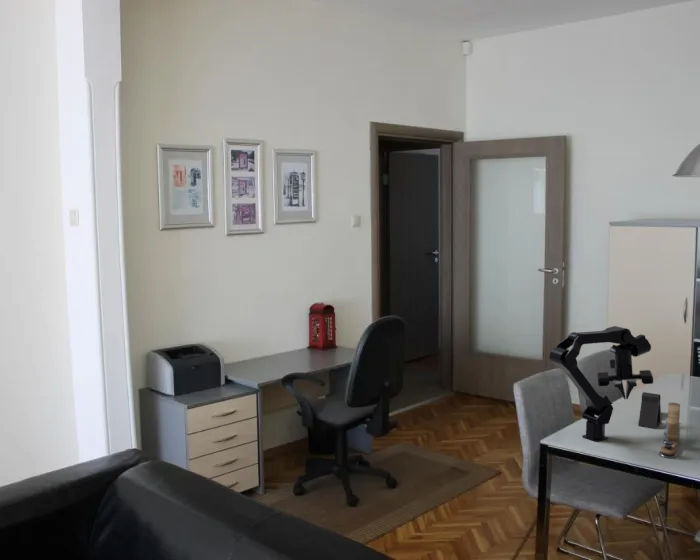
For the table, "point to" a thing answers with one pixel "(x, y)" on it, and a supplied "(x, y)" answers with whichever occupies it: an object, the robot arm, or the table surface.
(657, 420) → the phone stand
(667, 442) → the pin stand
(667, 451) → the swing link
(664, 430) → the bracket
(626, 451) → the table surface
